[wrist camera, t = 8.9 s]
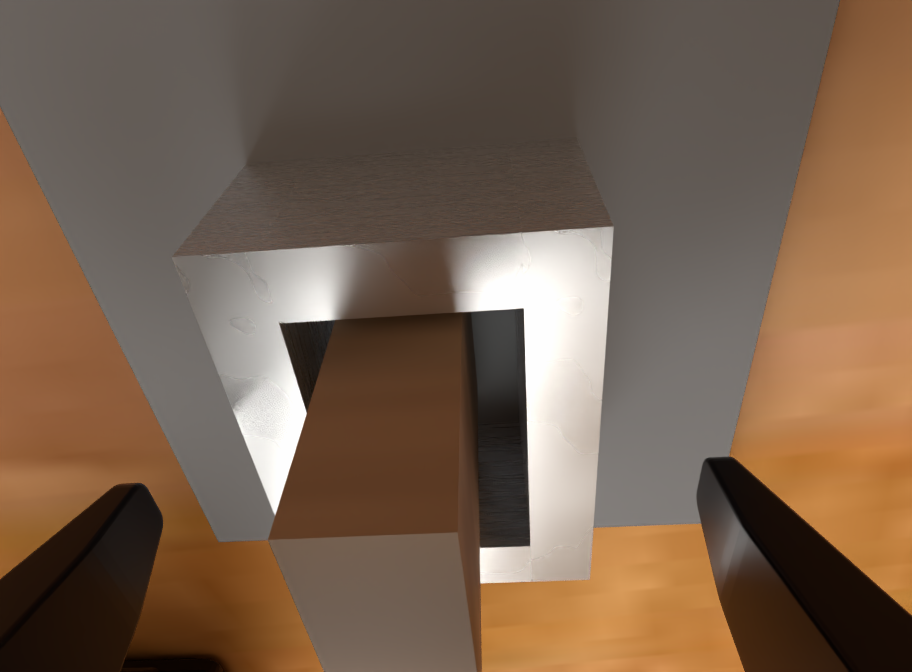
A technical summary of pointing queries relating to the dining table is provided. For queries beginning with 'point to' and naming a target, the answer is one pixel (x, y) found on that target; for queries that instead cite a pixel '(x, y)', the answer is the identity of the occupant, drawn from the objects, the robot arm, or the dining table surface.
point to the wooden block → (388, 499)
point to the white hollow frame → (423, 311)
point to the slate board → (425, 128)
